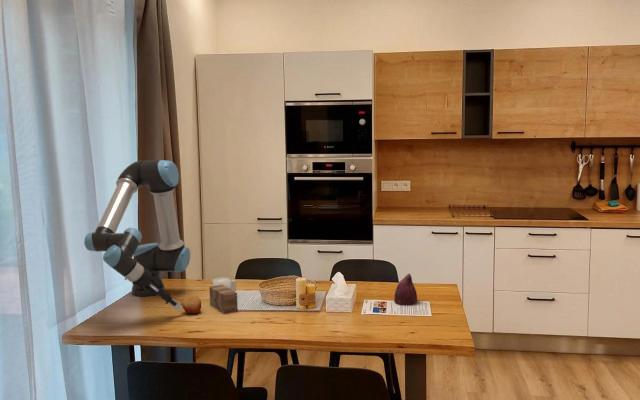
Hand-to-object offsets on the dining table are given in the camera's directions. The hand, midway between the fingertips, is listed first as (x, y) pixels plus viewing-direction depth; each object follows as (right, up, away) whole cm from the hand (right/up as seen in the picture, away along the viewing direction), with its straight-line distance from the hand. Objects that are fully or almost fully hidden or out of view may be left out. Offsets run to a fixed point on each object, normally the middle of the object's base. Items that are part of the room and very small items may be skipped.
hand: (180, 308), depth 245 cm
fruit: (+4, -3, +4) cm, 6 cm away
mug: (+15, 0, +25) cm, 29 cm away
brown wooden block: (+16, -1, +10) cm, 19 cm away
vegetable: (+96, 0, +13) cm, 97 cm away
